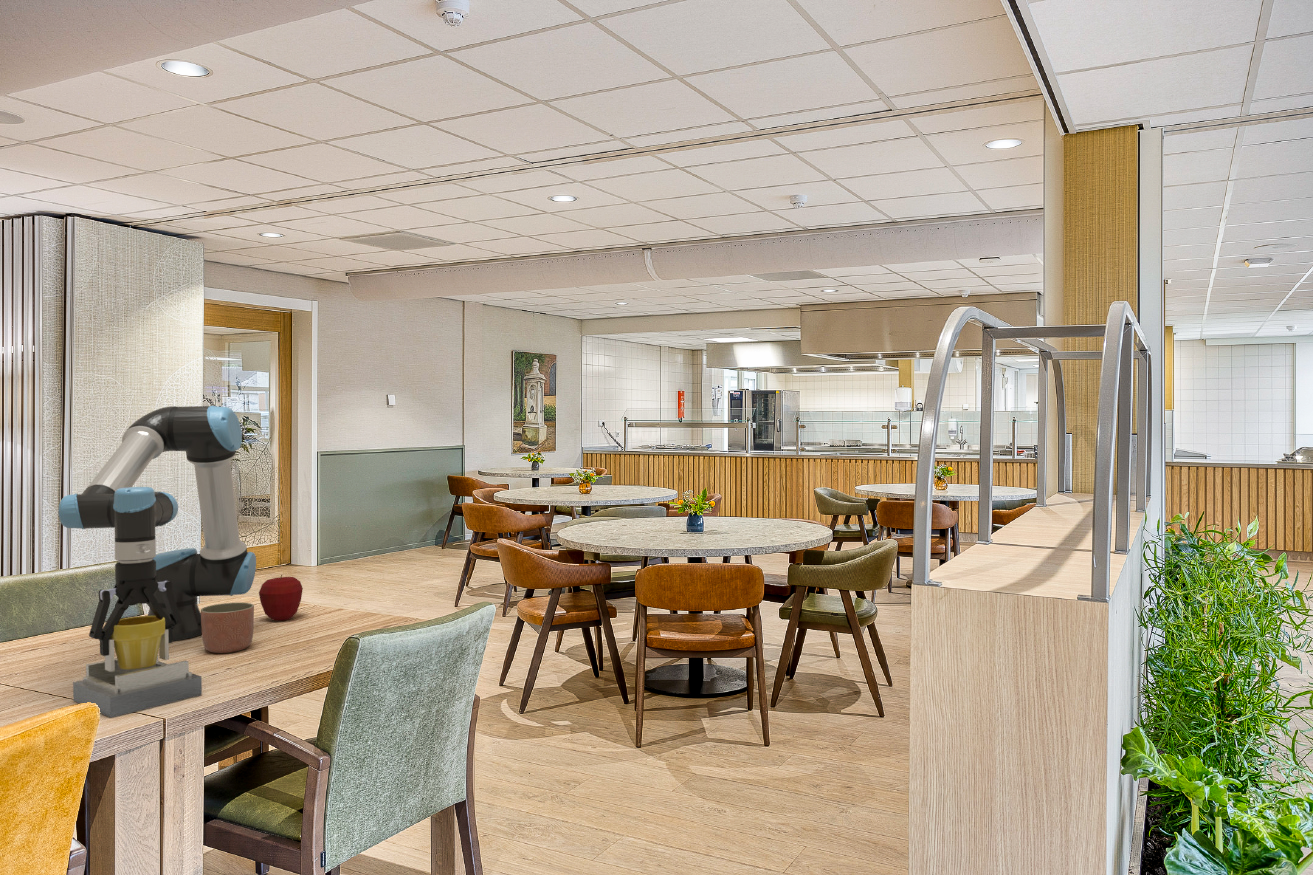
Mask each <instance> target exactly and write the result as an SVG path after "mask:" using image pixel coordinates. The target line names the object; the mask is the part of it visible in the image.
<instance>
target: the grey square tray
mask: <svg viewBox="0 0 1313 875" xmlns="http://www.w3.org/2000/svg"><path fill="white" fill-rule="evenodd" d="M114 665H115V671H112V672H110V671H107V670H105V660H103V661H98V662H92V663H87V664H85V672H86V673H85V676H83V677H82V678H83V679H82V680H76V681H73V682H72V693H73V695H72V696H73V697H72V700H73V702H74V703H77V704H79V703H87V702H91V703H96V704H97V705H98V707H99V708H100V712H101V713H100V715H104V716H105V717H108V718H109V719H110V718H111V719H112V718H115V717H119V716H123V715H126V714H127V715H128V714H131V713H136V712H140V711H144V710H147V709H151V708H155V707H160V706H163V705H168V704H172V703H175V702H180V701H183V700H188V699H191V698H196V697H200V696H202V695H203V691H202V690H203V689H202V676H201V675H199V674H195V673H193V672H191V671H190V669H189V668H190V667H189V661H188V660H183V661H177V662H172V663H166V662H163V661H159V654H158V655H157V660H156V664H155V665H154V666H151V667H148V668H143V669H136V670H123V669H121V668H120V667H119V663H118V659H117V657H116V658H114Z"/></svg>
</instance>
